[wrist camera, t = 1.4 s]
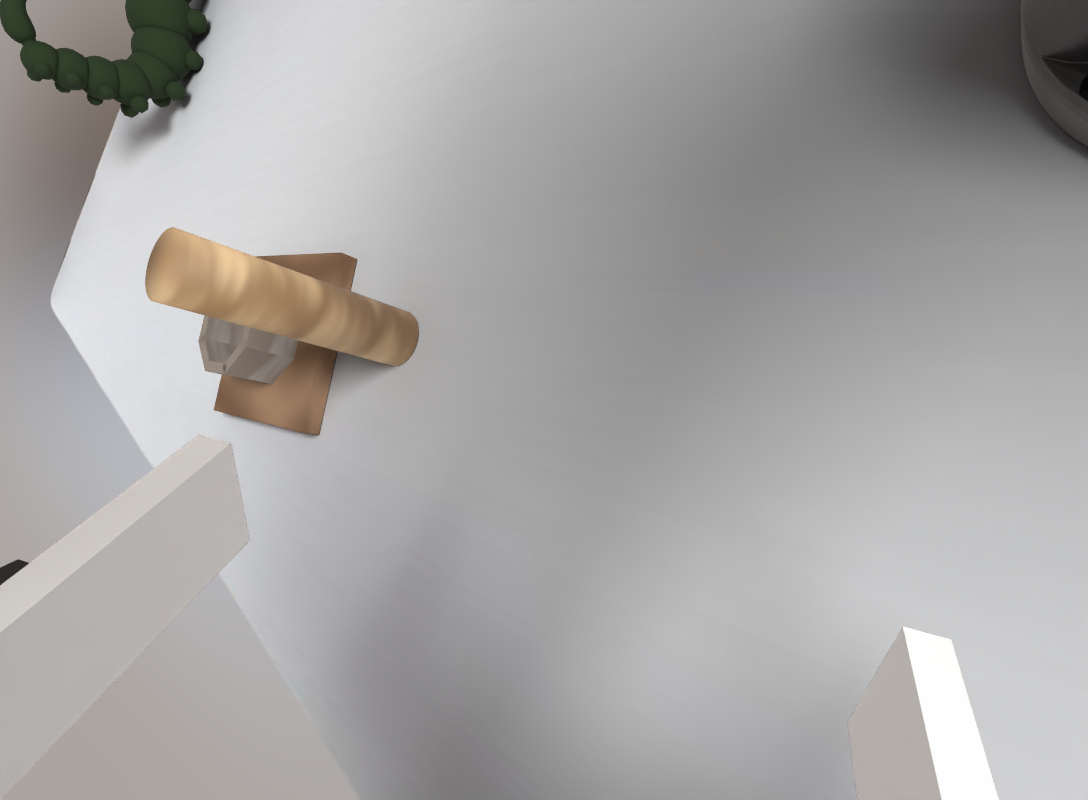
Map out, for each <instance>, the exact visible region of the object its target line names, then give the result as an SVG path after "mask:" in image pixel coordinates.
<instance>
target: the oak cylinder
mask: <svg viewBox="0 0 1088 800" xmlns="http://www.w3.org/2000/svg"><path fill="white" fill-rule="evenodd" d="M145 286H146V292H147V295H148V297H149V299H150V300H151V301H154V302H158V303H161V304H165V305H169V306H172V307H176V308H180V309H184V310H187V311H191V312H195V313H198V314H202V315H206V316H209V317H213V318H217V319H221V320H224V321H228V322H232V323H235V324H239V325H243V326H246V327H250V328H254V329H258V330H261V331H265V332H269V333H272V334H276V335H280V336H283V337H287V338H291V339H295V340H298V341H302V342H306V343H309V344H313V345H317V346H321V347H324V348H328V349H332V350H335V351H339V352H343V353H346V354H350V355H354V356H358V357H361V358H365V359H369V360H372V361H376V362H380V363H383V364H387V365H391V366H399V365H401V364H403V363H405V362H406V361H407V360H408V359H409V358H410V357H411V355H412V354H413V352H414V350H415V348H416V345H417V341H418V334H419V329H418V323H417V321H416V319H415V317H414V316H413V315H412V314H411V313H409V312H407V311H404V310H401V309H398V308H396V307H393V306H390V305H387V304H385V303H382V302H379V301H376V300H373V299H371V298H368V297H365V296H362V295H360V294H357V293H354V292H351V291H349V290H346V289H343V288H340V287H337V286H335V285H332V284H329V283H326V282H324V281H321V280H318V279H315V278H313V277H310V276H307V275H304V274H301V273H299V272H296V271H293V270H290V269H288V268H285V267H282V266H279V265H277V264H274V263H271V262H268V261H265V260H263V259H260V258H257V257H254V256H252V255H249V254H246V253H243V252H241V251H238V250H235V249H232V248H230V247H227V246H224V245H221V244H218V243H216V242H213V241H210V240H207V239H205V238H202V237H199V236H196V235H194V234H191V233H188V232H185V231H182V230H180V229H177V228H174V227H172V228H169V229H167V230H166V231H165V232H164V233H163V234H162V235H161V236H160V237H159V239H158V240H157V242H156V244H155V246H154V248H153V250H152V253H151V255H150V258H149V262H148V266H147V270H146V279H145Z"/></svg>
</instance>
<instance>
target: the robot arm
mask: <svg viewBox="0 0 1088 800" xmlns="http://www.w3.org/2000/svg"><path fill="white" fill-rule="evenodd" d="M1021 39H1022V53H1023V61H1024V66H1025V70H1026V74H1027V77H1028V80H1029V83H1030V85H1031V87H1032V89H1033V91H1034V94H1035V95H1036V97H1037V99H1038V100H1039V102H1040V104H1041V105H1042V107H1043V108H1044V109H1045V111H1046V112H1047V113H1048V115H1049V116H1050V117H1051V118H1052V119H1053V120H1054V121H1055V122H1056V123H1057V124H1058V125H1059V126H1060V127H1061V128H1062V129H1063V130H1064V131H1065V132H1067V133H1068V134H1069V135H1070V136H1072V137H1073V138H1074V139H1076V140H1077V141H1078V142H1080V143H1081V144H1083V145H1085V146H1086V147H1088V0H1021ZM249 541H250V537H249V532H248V527H247V522H246V516H245V511H244V506H243V501H242V496H241V491H240V486H239V481H238V475H237V470H236V465H235V460H234V455H233V450H232V445H231V443H229V442H225V441H221V440H218V439H214V438H210V437H207V436H203V435H198V436H197V437H195V438H194V439H193V440H191V441H190V442H189V443H187V444H186V445H185V446H183V447H182V448H181V449H179V450H178V451H177V452H176V453H174V454H173V455H172V456H170V457H169V458H168V459H166V460H165V461H164V462H162V463H161V464H160V465H158V466H157V467H156V468H154V469H153V470H152V471H150V472H149V473H148V474H147V475H145V476H144V477H143V478H141V479H140V480H139V481H137V482H136V483H135V484H133V485H132V486H131V487H129V488H128V489H127V490H125V491H124V492H123V493H121V494H120V495H119V496H117V497H116V498H115V499H114V500H112V501H111V502H110V503H108V504H107V505H106V506H104V507H103V508H102V509H100V510H99V511H98V512H96V513H95V514H94V515H92V516H91V517H90V518H88V519H87V520H86V521H85V522H83V523H82V524H81V525H80V526H78V527H77V528H75V529H74V530H73V531H71V532H70V533H69V534H67V535H66V536H65V537H63V538H62V539H61V540H60V541H58V542H57V543H56V544H54V545H53V546H52V547H50V548H49V549H48V550H46V551H45V552H44V553H42V554H41V555H40V556H38V557H37V558H36V559H35V560H33V561H32V562H30V563H27V562H24V561H21V560H16V561H14V562H11V563H9V564H7V565H5V566H3V567H1V568H0V799H2V798H3V796H5V795H6V794H7V792H8V791H9V790H10V789H11V788H12V787H13V786H14V785H15V784H16V783H17V782H18V781H19V780H20V779H21V778H22V777H23V776H24V775H25V773H27V772H28V770H30V769H31V768H32V767H33V765H34V764H35V763H36V762H37V761H38V760H39V759H40V758H41V757H42V756H43V755H44V754H45V753H46V752H47V751H48V750H49V749H50V748H51V747H52V746H53V745H54V744H55V743H56V742H57V740H58V739H59V738H60V737H61V736H62V735H63V734H64V733H65V732H66V731H67V730H68V729H69V728H70V727H71V726H72V725H73V724H74V723H75V722H76V721H77V720H78V718H80V717H81V716H82V714H84V712H85V711H86V710H87V709H88V708H89V707H90V706H91V705H92V704H93V703H94V702H95V701H96V700H97V699H98V698H99V697H100V696H101V695H102V694H103V693H104V692H105V691H106V690H107V689H108V688H109V686H110V685H111V684H112V683H113V682H114V681H115V680H116V679H117V678H118V677H119V676H120V675H121V674H122V673H123V672H124V671H125V670H126V669H127V668H128V667H129V666H130V665H131V664H132V662H134V660H135V659H136V658H137V657H138V656H139V655H140V654H141V653H142V652H143V651H144V650H145V649H146V648H147V647H148V646H149V645H150V644H151V643H152V642H153V641H154V640H155V639H156V638H157V637H158V635H159V634H160V633H161V632H162V631H163V630H164V629H165V628H166V627H167V626H168V625H169V624H170V623H171V622H172V621H173V620H174V619H175V618H176V617H177V616H178V615H179V614H180V613H181V612H182V611H183V609H185V608H186V606H187V605H188V604H189V603H190V602H191V601H192V600H193V599H194V598H195V597H196V596H197V595H198V594H199V593H200V592H201V591H202V590H203V589H204V588H205V587H206V586H207V585H208V584H209V583H210V581H211V580H212V579H213V578H214V577H215V576H216V575H217V574H218V573H219V572H220V571H221V570H222V569H223V568H224V567H225V566H226V565H227V564H228V563H229V562H230V561H231V560H232V559H233V558H234V557H235V556H236V555H237V553H238V552H239V551H240V550H241V549H242V548H243V547H244V546H245V545H246V544H247V543H248V542H249ZM848 728H849V736H850V745H851V753H852V762H853V770H854V779H855V788H856V796H857V800H999V799H998V796H997V793H996V789H995V786H994V783H993V779H992V776H991V772H990V769H989V766H988V762H987V759H986V756H985V752H984V749H983V745H982V742H981V739H980V735H979V732H978V729H977V725H976V722H975V718H974V715H973V712H972V708H971V705H970V702H969V698H968V695H967V691H966V688H965V685H964V681H963V678H962V675H961V671H960V668H959V664H958V661H957V658H956V654H955V651H954V647H953V644H952V641H951V639H947V638H943V637H940V636H936V635H932V634H929V633H925V632H921V631H918V630H914V629H910V628H907V627H902V629H901V631H900V632H899V634H898V636H897V637H896V639H895V641H894V643H893V644H892V646H891V648H890V649H889V651H888V653H887V654H886V656H885V658H884V660H883V661H882V663H881V665H880V666H879V668H878V670H877V672H876V673H875V675H874V677H873V678H872V680H871V682H870V684H869V685H868V687H867V689H866V690H865V692H864V694H863V696H862V697H861V699H860V701H859V702H858V704H857V706H856V707H855V709H854V711H853V713H852V714H851V716H850V718H849V719H848Z"/></svg>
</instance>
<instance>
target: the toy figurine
mask: <svg viewBox="0 0 1088 800" xmlns="http://www.w3.org/2000/svg"><path fill="white" fill-rule="evenodd" d="M26 1H27V0H1V1H0V19H1V23H2V26H3V28H4V30H5V32H6V33H7V34H8V35H9V36H10V37H11V38H12V39H14V40H15V41H16V42H18V43H21V44H22V45H23V47H22V49H21V52H20V58H21V61H22V63H23V65H24V67H25V68H26V69H27V75H28V77H29V78H30V79H31V80H34V81H41V80H42V79H48V80H49V79H53V80H54V81H55V86H56V89H58V90H59V91H60V92H67V93H69V92H70V91H71V90H81V89H83V90H84V91H85V92H86V93H88V94H87V99H88V101H89V102H90V103H91V104H94V105H100V104H102V102H103V100H110V99H115V100H116V101H118V102H120V103H121V111H122V112H123V114H124V115H125V116H128V117H131V118H132V117H134V116H136V115H137V114H139V112H141V113H143V112H145V111H146V110H148V104H149V103H148V102H147V101H148V99H149V98H151V99H152V101H153V103H155V104H156V105H158V106H159V107H166V106H168V105H169V104H170V102H171V99H173V100H181V99H183V98H184V96H185V94H186V92H185V89H184V86H183V85H182V84H180V83H179V82H178V81H180V80H182V79H183V78H185V77H186V75H187V74H188V73H189V72H190V71H191V70H198V69H200V68H201V67H202V57H201V56H200V55H199V54H198V53H197V52H195V51H192V49H191V47H190V45H189V42H190V40H191V38H192V36H193V34H202V33H204V32H205V31H206V28H207V26H208V23H207V20H206V17H205V15H203V14H202V13H201V12H200V11H199V10H197V9H190V7H189V5H188V4H189V3H190V2H191V0H126V5H125V9H126V16H127V20H128V23H129V25H130V27H131V29H132V30H133V32H134V34H133V36H132V39H131V49H132V54H131V55H130V56H129V58H128V59H127V60H124V59H123V60H122V59H121V60H115V61H112V62H111V61H109V60H107V59H105V58H102V57H99V56H90V57H86V58H85V57H84V56H83V55H81V54H79V53H78V52H76V51H74V50H72V49H68V48H59V49H55V48H53V47H52V46H50V45H48V44H46V43H44V42H40V41H36V39H35V37H36V32H35V29H34V26H33V24H32V22H31V20H30V18H29V16H28V14H27V11H26Z"/></svg>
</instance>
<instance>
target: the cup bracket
mask: <svg viewBox="0 0 1088 800" xmlns="http://www.w3.org/2000/svg"><path fill="white" fill-rule="evenodd" d="M257 258H260V259H263V260H265V261H268V262H271V263H274V264H277V265H279V266H282V267H285V268H288V269H290V270H293V271H296V272H299V273H301V274H304V275H307V276H310V277H313V278H315V279H318V280H321V281H324V282H326V283H329V284H332V285H335V286H337V287H340V288H343V289H346V290H349V291H350V290H351V285H352V280H353V276H354V271H355V267H356V262H357V259H355V258H353V257H350V256H348V255H345V254H343V253H323V254H301V255H280V256H258V257H257ZM199 346H200V350H201V355H202V359H203V363H204V368H205V371H209V372H214V373H218V374H222V376H221V381H220V385H219V389H218V394H217V398H216V402H215V407H214V410H215V411H219V412H223V413H227V414H231V415H235V416H239V417H243V418H247V419H251V420H254V421H258V422H262V423H266V424H270V425H274V426H278V427H282V428H286V429H290V430H294V431H298V432H302V433H308V434H315V435H319V432H320V428H321V423H322V419H323V414H324V409H325V405H326V400H327V396H328V391H329V386H330V382H331V377H332V372H333V368H334V363H335V359H336V354H337V351H335V350H332V349H328V348H324V347H321V346H317V345H313V344H309V343H306V342H302V341H298V340H295V339H291V338H287V337H283V336H280V335H276V334H272V333H269V332H265V331H261V330H258V329H254V328H250V327H246V326H243V325H239V324H235V323H232V322H228V321H224V320H221V319H217V318H213V317H209V316H206V315H205V316H204V320H203V324H202V329H201V333H200V337H199Z"/></svg>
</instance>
